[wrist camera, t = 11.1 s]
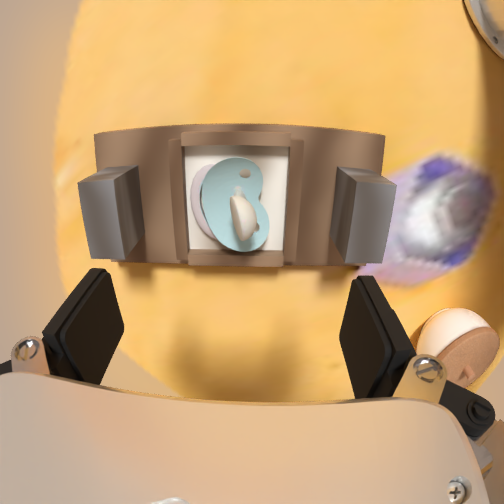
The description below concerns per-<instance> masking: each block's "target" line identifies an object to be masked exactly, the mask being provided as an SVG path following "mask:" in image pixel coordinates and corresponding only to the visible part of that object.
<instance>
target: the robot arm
mask: <svg viewBox="0 0 504 504" xmlns="http://www.w3.org/2000/svg"><path fill="white" fill-rule="evenodd" d="M464 2H465V5H466V7H467V10H468V12H469V15H470V17H471V19H472V21H473V23H474V25H475V26H476V28H477V30H478V31H479V33H480V35H481V36H482V37H483V39H484V40H485V42H486V43H487V44H488V45H489V46H490V48H491V49H492V50H493V51H494V52H495V53H496V54H497V55H498V56H499V57H500V58H502V59H503V60H504V0H464ZM123 332H124V323H123V320H122V316H121V313H120V309H119V306H118V302H117V298H116V295H115V291H114V287H113V283H112V279H111V275H110V273H108V272H107V271H106V269H101V268H91V269H90V270H89V271H88V273H87V274H86V275H85V276H84V278H83V279H82V280H81V281H80V283H79V284H78V285H77V286H76V288H75V289H74V290H73V291H72V293H71V294H70V295H69V296H68V298H67V299H66V301H65V302H64V303H63V304H62V306H61V307H60V308H59V310H58V311H57V312H56V314H55V315H54V316H53V318H52V319H51V320H50V322H49V323H48V325H47V326H46V327H45V329H44V330H43V332H42V333H43V336H44V337H43V338H42V340H41V339H39V338H38V337H33V336H30V337H25V338H23V339H21V340H20V341H19V342H17V343H16V344H15V346H14V347H13V349H12V352H11V360H9V361H7V362H5V363H2V364H0V504H504V422H503V421H502V420H499V421H498V422H497V421H496V420H495V411H494V408H493V406H492V405H491V404H490V402H489V401H487V400H486V399H484V398H483V397H481V396H479V395H477V394H475V393H473V392H471V391H469V390H467V389H465V388H463V387H461V386H459V385H457V384H455V383H453V382H451V381H449V380H447V369H446V367H445V365H444V363H443V362H442V361H441V360H439V359H438V358H436V357H434V356H432V355H429V354H420V355H417V354H416V352H415V350H414V348H413V346H412V344H411V342H410V340H409V338H408V336H407V334H406V332H405V330H404V328H403V326H402V324H401V322H400V321H399V319H398V317H397V315H396V313H395V311H394V310H393V309H391V307H390V305H389V303H388V302H387V300H386V298H385V296H384V294H383V293H382V291H381V289H380V287H379V285H378V284H377V282H376V280H375V278H374V277H373V276H358V277H357V279H354V280H353V281H352V283H351V288H350V292H349V297H348V301H347V305H346V310H345V314H344V318H343V322H342V326H341V329H340V334H339V340H340V344H341V348H342V351H343V355H344V358H345V362H346V365H347V369H348V373H349V377H350V380H351V384H352V388H353V392H354V396H355V399H349V400H333V401H310V402H239V401H219V400H204V399H192V398H182V397H172V396H164V395H156V394H149V393H142V392H135V391H129V390H123V389H117V388H112V387H106V386H101V385H100V383H101V381H102V378H103V376H104V374H105V371H106V369H107V367H108V365H109V363H110V360H111V358H112V356H113V354H114V352H115V350H116V348H117V345H118V343H119V341H120V339H121V337H122V335H123Z"/></svg>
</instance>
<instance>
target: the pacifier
mask: <svg viewBox="0 0 504 504" xmlns="http://www.w3.org/2000/svg"><path fill="white" fill-rule="evenodd" d="M242 169H248V170H250V172H251V175H250V177H248V178H242V177H241V176H240V171H241V170H242ZM262 187H263V176H262V173H261V170H260V169H259V167H258V166H257V165H256V164H255V163H254V162H252V161H251V160H249V159H246V158H242V157H231V158H227V159H224V160H222V161H220V162H218V163H217V164H209V165H206V166H204V167H202V168H201V169H200V170H199V171H198V172H197V173H196V175H195V177H194V178H193V181H192V185H191V189H190V201H191V208H192V211H193V214H194V217H195V219H196V221H197V223H198V224H199V226H200V227H201V228H202V230H203V231H204V232H205V233H206V234H208V235H209V236H210V237H212V238H214V239H217V240H219V241H220V242H221V243H222V244H223V245H225V246H226V247H228V248H231V249H233V250H236V251H240V252H247V251H252V250H255V249H256V248H258V247H260V246H261V245H262V244H263V243H264V241H265V240H266V238H267V236H268V233H269V218H268V214H267V212H266V210H265V208H264V207H263V205H262V204H261V203H260V202H259V199H258V197H259V195H260V193H261V190H262ZM201 189H202V203H203V208H202V203H201ZM203 209H204V211H203ZM257 223H258V224H259V226H260V228H259V230H258V231H257V232H254V231H255V229H256V225H257Z"/></svg>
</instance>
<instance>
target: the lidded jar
mask: <svg viewBox="0 0 504 504" xmlns="http://www.w3.org/2000/svg"><path fill="white" fill-rule="evenodd" d="M498 349H499V336H498V334H497V333H496V332H495V330H494V329H492V328H491V327H490V326H489V324H488V323H487V322H486V321H485V320H484V319H483V318H482V317H481V316H479V315H478V314H476V313H475V312H473V311H471V310H468V309H465V308H446V309H442V310H440V311H438V312H436V313H435V314H433V315H432V316H431V317H430V318H429V319H428V320H427V321H426V323H425V324H424V326H423V327H422V330H421V333H420V337H419V339H418V343H417V349H416V354H417V355H420V354H429V355H432V356H434V357H436V358H438V359H439V360H441V361H442V362H443V363H444V365H445V367H446V369H447V380H449V381H451V382H453V383H455V384H457V385H459V386H461V387H463V388H465V387H467V386H468V385H470V384H471V383H472V382H474V381H475V380H476V379H477V378H478V377H480V376H481V375H482V374H483V373H484V372H485V370H486V369H487V368H488V367H489V365H490V364H491V363H492V361H493V360H494V358H495V356H496V354H497V352H498Z"/></svg>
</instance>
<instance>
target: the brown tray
mask: <svg viewBox="0 0 504 504" xmlns="http://www.w3.org/2000/svg"><path fill="white" fill-rule="evenodd" d="M94 142H95V155H96V166H97V173H95V174H93V175H91V176H89V177H87V178H85V179H84V180H82V181H80V182H78V190H79V196H80V203H81V209H82V215H83V220H84V226H85V231H86V236H87V241H88V246H89V250H90V255H91V259H111V262H145V263H187V264H189V265H199V266H255V267H283V265H323V266H366V263H382V260H383V256H384V251H385V247H386V242H387V237H388V232H389V227H390V222H391V217H392V211H393V205H394V199H395V193H396V187H397V185H396V184H394V183H392V182H391V181H389V180H387V179H386V178H384V177H383V176H381V172H382V163H383V154H384V145H385V136H384V135H380V134H375V133H368V132H361V131H352V130H344V129H334V128H324V127H312V126H297V125H279V124H190V125H172V126H158V127H146V128H135V129H126V130H117V131H109V132H102V133H98V134H94ZM231 157H242V158H246V159H249V160H251V161H252V162H254V163H255V164H256V165H257V166H258V167H259V169H260V170H261V173H262V176H263V187H262V190H261V193H260V195H259V197H258V199H259V202H260V203H261V204H262V205H263V207H264V208H265V210H266V212H267V214H268V218H269V233H268V236H267V238H266V240H265V241H264V243H263V244H262V245H261V246H260V247H258V248H256V249H255V250H252V251H247V252H240V251H236V250H233V249H231V248H228V247H226V246H225V245H223V244H222V243H221V242H220V241H219V240H217V239H214V238H212V237H210V236H209V235H208V234H206V233H205V232H204V231H203V230H202V228H201V227H200V226H199V224H198V223H197V221H196V219H195V217H194V214H193V211H192V208H191V201H190V189H191V185H192V181H193V178H194V177H195V175H196V173H197V172H198V171H199V170H200V169H201V168H202V167H204V166H206V165H209V164H217V163H218V162H220V161H222V160H224V159H227V158H231ZM250 175H251V172H250V170H248V169H242V170H241V171H240V176H241V177H242V178H248V177H250ZM201 203H202V189H201ZM202 208H203V203H202ZM203 211H204V209H203ZM259 228H260V226H259V224H258V223H257V225H256V229H255V231H254V232H257V231H258V230H259Z"/></svg>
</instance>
